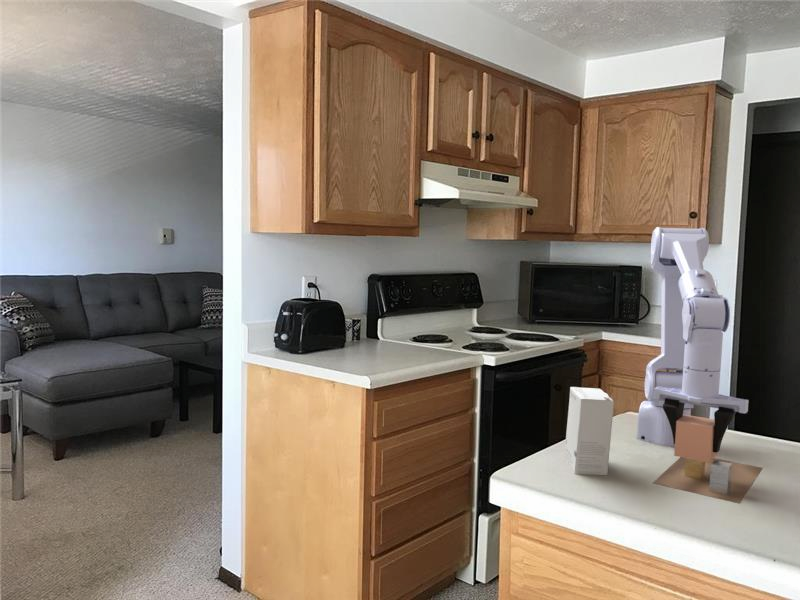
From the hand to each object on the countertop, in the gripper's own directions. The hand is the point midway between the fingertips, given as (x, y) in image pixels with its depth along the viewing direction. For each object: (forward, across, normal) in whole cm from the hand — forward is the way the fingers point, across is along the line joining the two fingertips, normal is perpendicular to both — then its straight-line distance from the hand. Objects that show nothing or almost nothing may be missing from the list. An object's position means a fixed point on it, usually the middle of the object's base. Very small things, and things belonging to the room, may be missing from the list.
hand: (696, 447), depth 114 cm
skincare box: (+7, -16, -8) cm, 19 cm away
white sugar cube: (+5, +5, -5) cm, 9 cm away
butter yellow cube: (+5, 0, 0) cm, 5 cm away
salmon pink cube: (+1, 0, 0) cm, 1 cm away
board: (+6, +2, +2) cm, 7 cm away
